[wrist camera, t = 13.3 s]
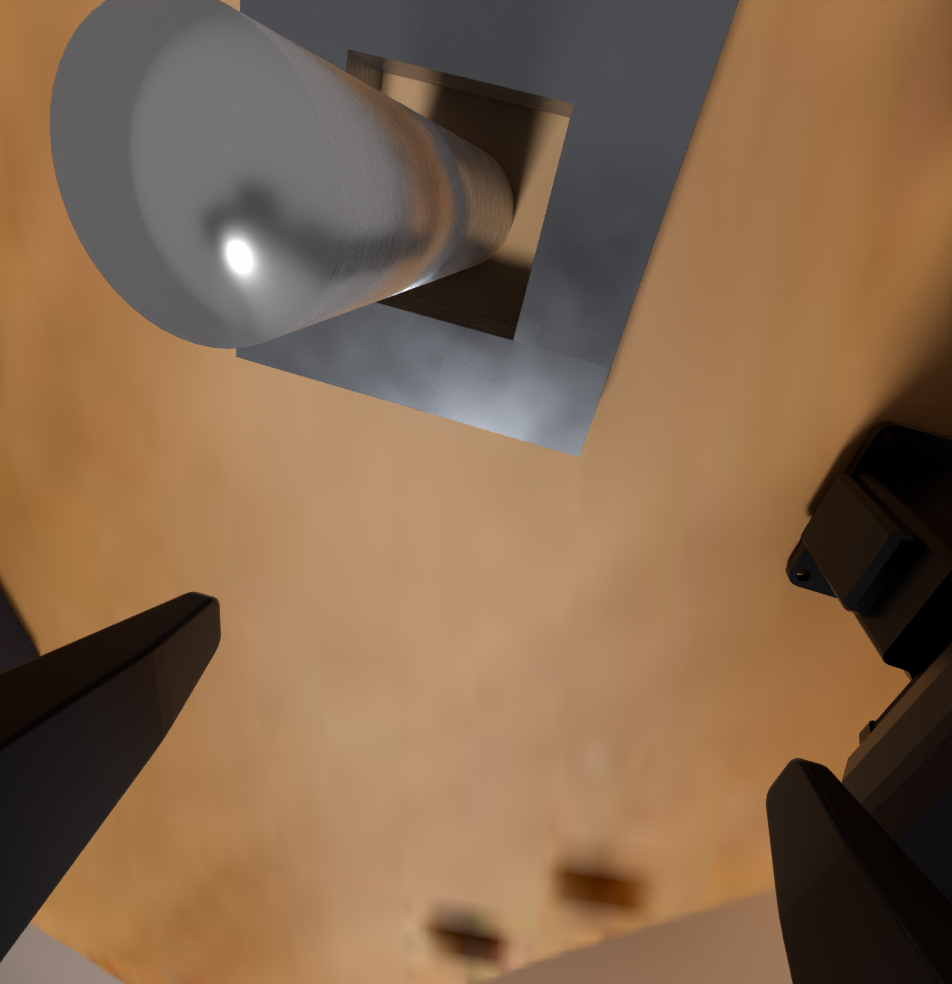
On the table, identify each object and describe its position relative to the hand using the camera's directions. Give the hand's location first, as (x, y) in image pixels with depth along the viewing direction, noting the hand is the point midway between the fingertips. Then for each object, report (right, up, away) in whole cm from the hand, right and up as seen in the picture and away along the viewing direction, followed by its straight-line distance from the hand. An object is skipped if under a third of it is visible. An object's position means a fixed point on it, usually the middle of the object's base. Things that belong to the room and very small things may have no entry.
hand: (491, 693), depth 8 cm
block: (-1, +12, +9) cm, 15 cm away
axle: (-1, +12, +9) cm, 15 cm away
